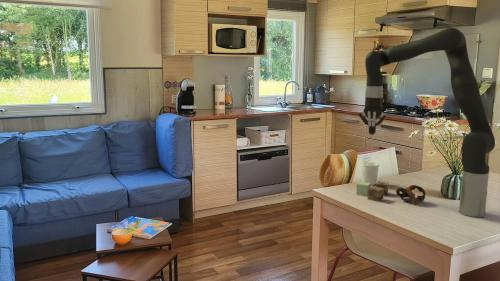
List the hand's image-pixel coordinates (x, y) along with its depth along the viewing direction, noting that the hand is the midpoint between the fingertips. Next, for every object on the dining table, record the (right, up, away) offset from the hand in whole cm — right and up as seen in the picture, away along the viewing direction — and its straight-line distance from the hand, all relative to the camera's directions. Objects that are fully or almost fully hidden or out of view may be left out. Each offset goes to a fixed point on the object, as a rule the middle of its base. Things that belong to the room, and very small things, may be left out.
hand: (371, 134), depth 202 cm
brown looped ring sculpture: (+14, -30, -10) cm, 34 cm away
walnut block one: (+5, -27, +2) cm, 28 cm away
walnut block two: (0, -29, -7) cm, 30 cm away
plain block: (-4, -27, +1) cm, 28 cm away
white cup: (+4, -24, +19) cm, 31 cm away
